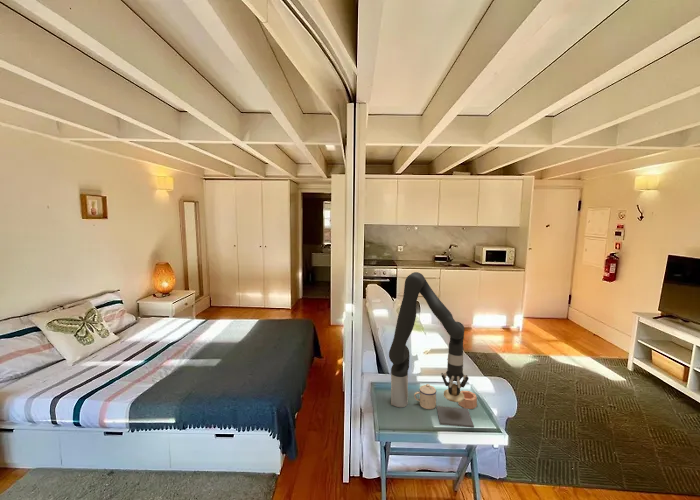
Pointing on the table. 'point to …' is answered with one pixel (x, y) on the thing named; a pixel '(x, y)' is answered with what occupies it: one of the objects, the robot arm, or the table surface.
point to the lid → (454, 394)
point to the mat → (454, 416)
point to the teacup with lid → (427, 396)
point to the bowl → (468, 400)
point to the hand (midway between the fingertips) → (454, 393)
